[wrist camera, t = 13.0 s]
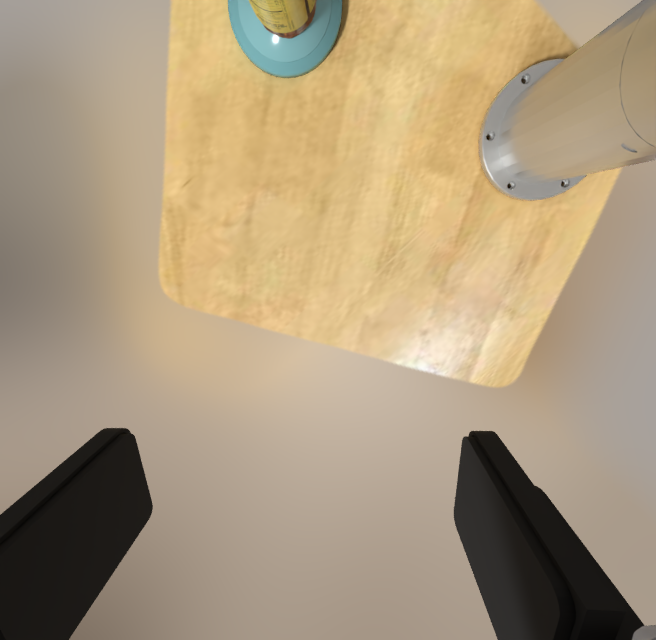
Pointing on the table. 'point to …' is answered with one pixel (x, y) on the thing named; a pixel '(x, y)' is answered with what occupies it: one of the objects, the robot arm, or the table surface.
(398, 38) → the table surface
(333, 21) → the coaster
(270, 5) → the sauce bottle
